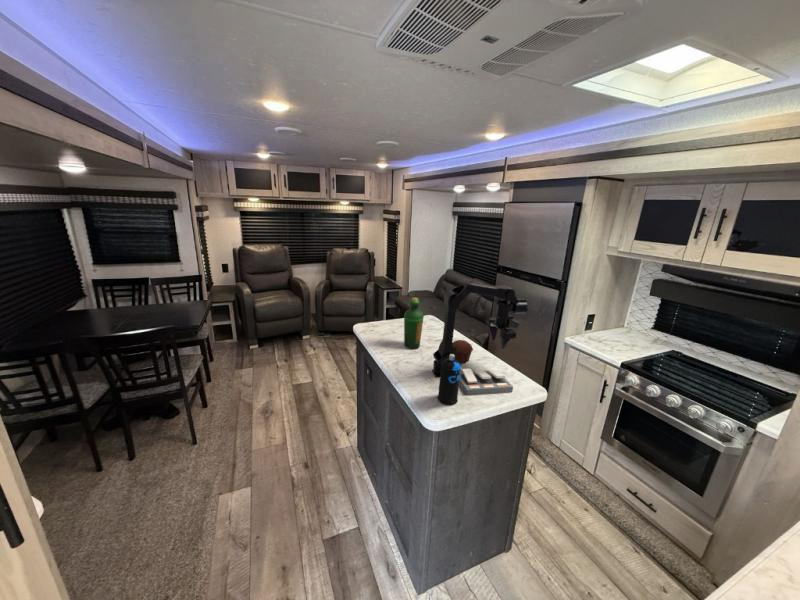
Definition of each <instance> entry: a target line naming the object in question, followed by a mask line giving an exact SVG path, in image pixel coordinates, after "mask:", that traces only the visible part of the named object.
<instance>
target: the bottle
mask: <svg viewBox="0 0 800 600" xmlns="http://www.w3.org/2000/svg"><path fill="white" fill-rule="evenodd" d="M409 306H410V308H409V309H408V310H407V309H406V311H405V312H404V313H403V320H404V322H403V324H404V325H403V330H404V331H403V332H404V333H403V339H404V341H403V343H404V344H403V345H404V347H405V348H406V349H409V350H416V349H419V348H420V346H421V339H422V330H423V326H424V325H423V324H424V319H425V318H424V316H425V315H424V313H423V311H422V310H420V309H419V307H420V306H421V305H420V299H419V298H418V297H412V298H411V299H410V301H409Z"/></svg>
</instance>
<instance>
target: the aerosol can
mask: <svg viewBox="0 0 800 600" xmlns="http://www.w3.org/2000/svg"><path fill="white" fill-rule="evenodd" d="M454 358H455V355H454V354H450V357H449V359H445V360H444V361H442V362H441V373H440V377H439V384H438V393H437V394H438V395H437V400H438V402H439V403H440V404H442V405H445V406H454V405H455V404H456V405H457V403H458V402H459V400H458V397H459V396H458V395H459V388H460V387H459V386H460V384H459V380H460V372H461V371H462V369H463V368H462V367H463V366H462V363H459V362H458V361H457V360H455V359H454Z"/></svg>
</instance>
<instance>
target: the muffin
mask: <svg viewBox="0 0 800 600" xmlns="http://www.w3.org/2000/svg"><path fill="white" fill-rule="evenodd" d="M452 342H453V344H454V345H455V346H456V352H455V354H456V356H455V358H454V359H455V360H457V361H458V362H459V363H460V364H467V363H468V362H469V361H470V358H471V354H472V353H473V351H474V349H473V346H472V344H471V343H469V342H468V341H466V340H464V339H457V340H454V341H452Z"/></svg>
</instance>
